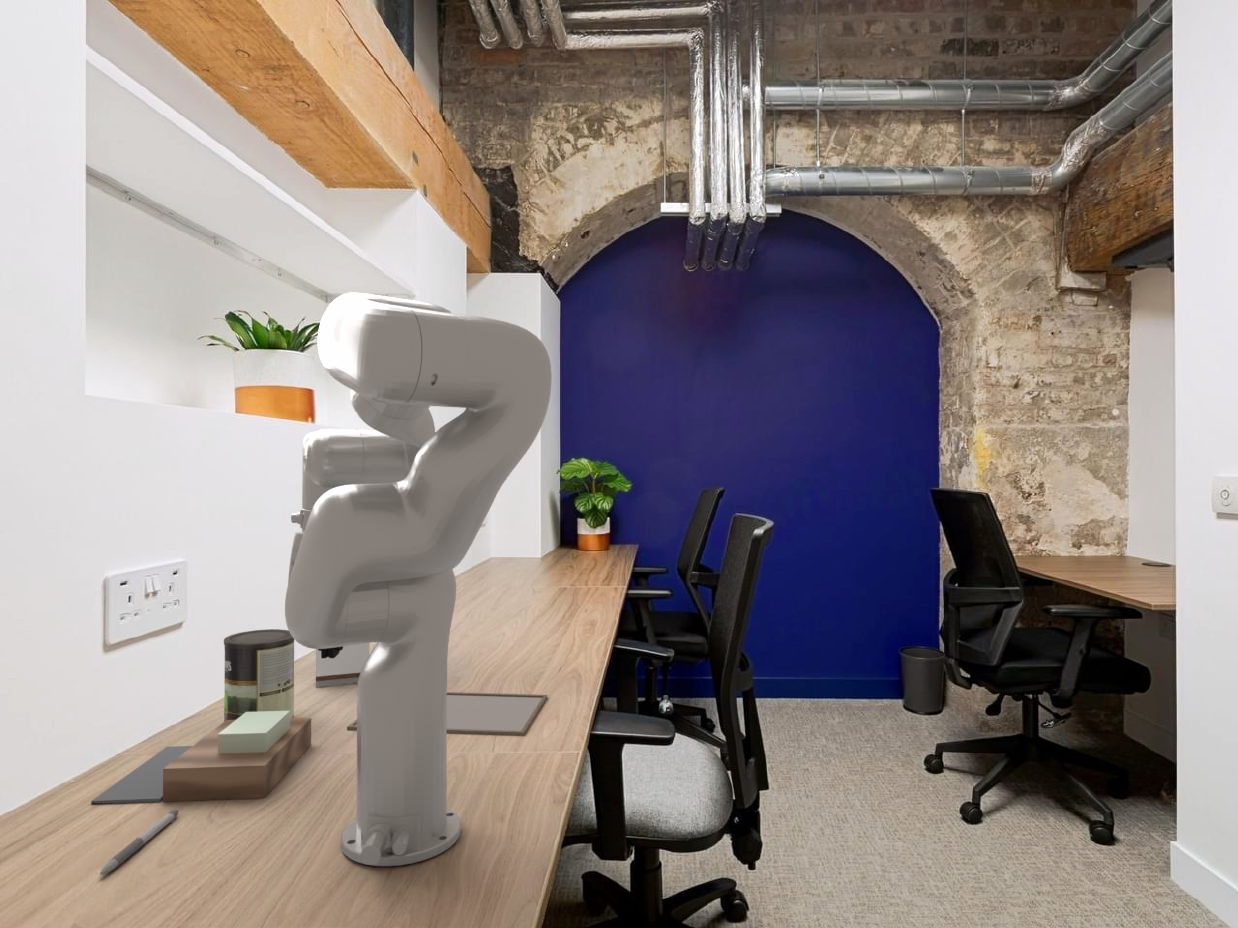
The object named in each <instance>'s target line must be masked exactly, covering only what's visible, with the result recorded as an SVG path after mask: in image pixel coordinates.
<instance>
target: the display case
mask: <svg viewBox="0 0 1238 928" xmlns="http://www.w3.org/2000/svg"><path fill="white" fill-rule="evenodd" d="M369 655H370V643H363V644H356V645H349V646H343V649H342V650H341V651H340V652H339V654H338V655H337V656H336V657H335V658H329V657H327V658H321V651H318V649H315V688H316V687H318V688H324V687H323V686H328V687H335V686H334V685H338V686H344V685H343V684H348V685H354V684H353V683H358V679H359V676H360V673H361V670H362V668H363V666H364V664H365V662H366V660H367V658H368V657H369Z"/></svg>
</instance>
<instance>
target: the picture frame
mask: <svg viewBox="0 0 1238 928" xmlns="http://www.w3.org/2000/svg"><path fill="white" fill-rule="evenodd" d="M547 700H548V694H533V693H531V694H529V693H528V694H527V693H526V694H525V693H501V692H500V693H495V692H494V693H493V692H463V691H462V692H460V691H459V692H458V691H447V735H450V734H452V735H479V736H480V735H483V736H509V737H511V736H512V737H524V736H525V735H526V733H527V732H528V730H529V729H530V727H531V725H532V724H533V722H534V720H535V719H536V717H537V716H538V714H539V712H540V711H541V710H542V707H543V706H544V704H545V703H546V701H547ZM346 731H355V732H357V718H356V719H355V720H354V721H352V722H351V723H350V724H348V725H347V726H346Z"/></svg>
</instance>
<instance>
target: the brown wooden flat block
mask: <svg viewBox="0 0 1238 928" xmlns="http://www.w3.org/2000/svg"><path fill="white" fill-rule="evenodd" d="M234 721H235V720H226V721H225V722H224V721H223V722H222V723H221V724H220V725H217V727H215V728H214V729H213V730H211V731H210V732H209V733H207V735H205V736H204V737H202V738H201V739H200V740H198V741H197V742H196V743H195V744H194V745H191V746H192V747H191V748H189V749H188V750H187V751H186V752H184V753H183V754H182V755H180V756H179V757H178V758H176V759H175V760H174V761H173V762H171V763H170V764H169V765H167V766H166V767H165V768H163V800H162V803H163V802H189V801H191V802H192V801H214V800H217V801H219V800H220V801H221V800H238V799H239V800H241V799H242V800H244V799H265V798H266V797H267V796H268V795H269V794H270V793H271V791H273V789H274V788H275V787H276V785H278V784H279V783H280V781H281V780H282V779H283V777H284V776H286V774H287V773H288V772H289V771H290V770H291V769H292V768H293V766H294V765H295V764H296V763H297V762H298V761H299V760H300V758H302V756H303V755H304V754H305V753H306V752H307V751H308V749H309V748H310V747H311V746H312V717H294V718H290V729H289V730H288V731H287V732H286V733H285V734H284V735H283V736H282V737H281V738H280V739H279V740H278V741H277V742H276V743H275V744H274V745H273V746H272V747H271V748H270V749H269V750H268V751H267V752H258V753H226V754H218V734H219V733H220V732H221V731H223V730H224V729H225V728H226V727H228V726H229V725H230V724H231V723H233V722H234Z"/></svg>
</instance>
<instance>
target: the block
mask: <svg viewBox="0 0 1238 928" xmlns="http://www.w3.org/2000/svg"><path fill="white" fill-rule="evenodd" d="M289 729H290V711H261V712H245V713H244V714H243V715H242V716H240V717H239V718H238V719H236V720H235V721H234V722H233V723H231V724H230V725H229V726H228V727H226V728H225V729H224V730H223V731H221V732H220V733H219V734H218V754H226V753H258V752H267V751H268V750H269V749H270V748H271V747H272V746H273V745H274V744H275V743H276V742H277V741H278V740H279V739H280V738H281V737H282V736H283V735H284V734H285V733H286V732H287V731H288V730H289Z"/></svg>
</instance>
